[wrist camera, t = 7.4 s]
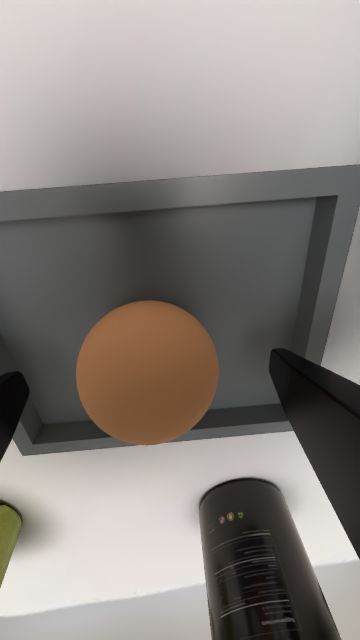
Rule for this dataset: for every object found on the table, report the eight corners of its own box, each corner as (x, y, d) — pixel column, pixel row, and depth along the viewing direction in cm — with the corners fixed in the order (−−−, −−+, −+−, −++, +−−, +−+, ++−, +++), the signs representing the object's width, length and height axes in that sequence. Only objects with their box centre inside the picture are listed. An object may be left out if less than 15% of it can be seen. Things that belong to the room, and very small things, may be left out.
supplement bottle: (293, 507, 20) (443, 869, 9) (219, 531, 21) (274, 875, 10) (265, 464, 17) (437, 919, 6) (182, 495, 18) (204, 920, 7)
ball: (205, 277, 10) (239, 339, 5) (207, 372, 12) (232, 471, 8) (84, 287, 10) (18, 360, 5) (109, 381, 12) (77, 487, 8)
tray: (333, 170, 9) (369, 163, 7) (289, 403, 14) (304, 429, 13) (-72, 201, 9) (-126, 201, 7) (39, 426, 14) (22, 455, 12)
